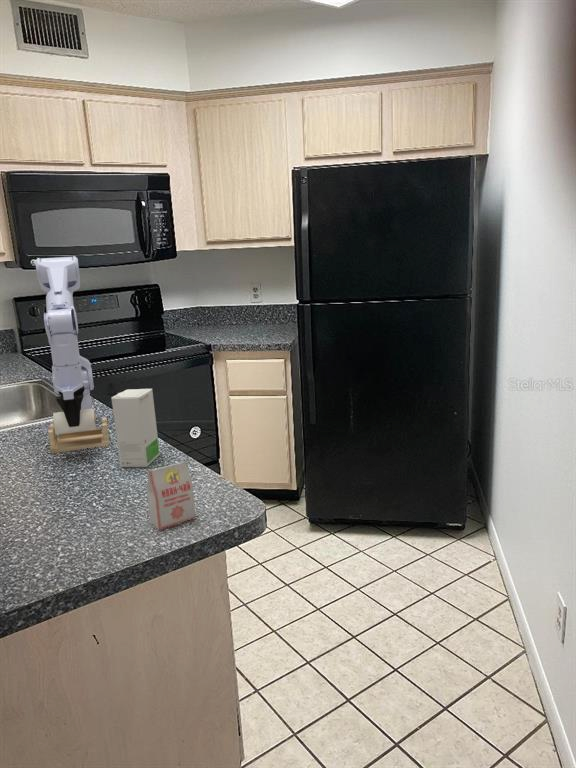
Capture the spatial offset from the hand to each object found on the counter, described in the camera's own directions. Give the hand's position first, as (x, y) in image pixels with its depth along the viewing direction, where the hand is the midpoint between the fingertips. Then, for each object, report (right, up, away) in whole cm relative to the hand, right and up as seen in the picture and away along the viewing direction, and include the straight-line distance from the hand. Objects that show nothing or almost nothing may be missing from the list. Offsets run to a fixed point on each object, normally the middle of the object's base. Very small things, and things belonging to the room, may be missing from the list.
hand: (74, 422), depth 135 cm
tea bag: (+28, -15, -32) cm, 45 cm away
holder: (-2, -6, +10) cm, 12 cm away
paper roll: (0, 0, 0) cm, 0 cm away
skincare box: (+15, -8, -3) cm, 18 cm away
